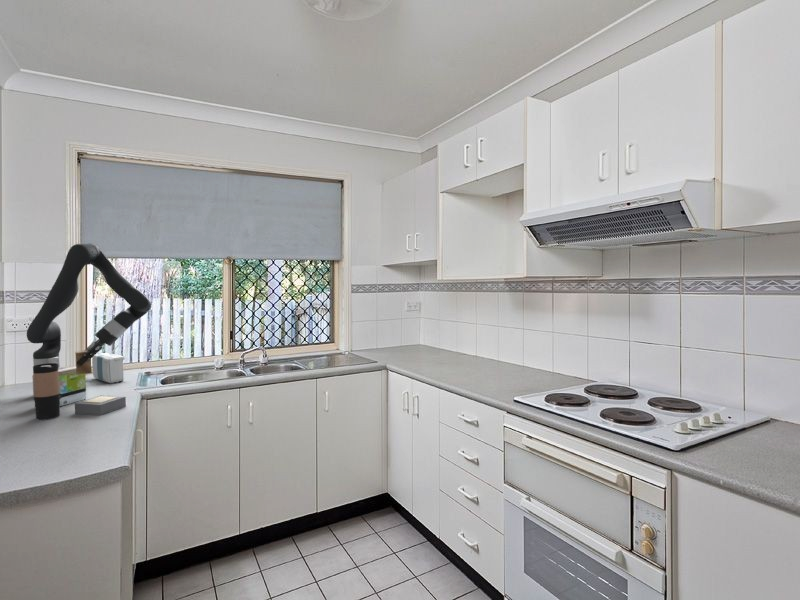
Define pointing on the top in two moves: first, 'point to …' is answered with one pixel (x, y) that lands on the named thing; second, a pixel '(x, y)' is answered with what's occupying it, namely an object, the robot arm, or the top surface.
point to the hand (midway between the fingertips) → (78, 363)
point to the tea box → (71, 385)
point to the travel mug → (46, 391)
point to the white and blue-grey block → (108, 367)
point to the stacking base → (100, 405)
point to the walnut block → (86, 366)
